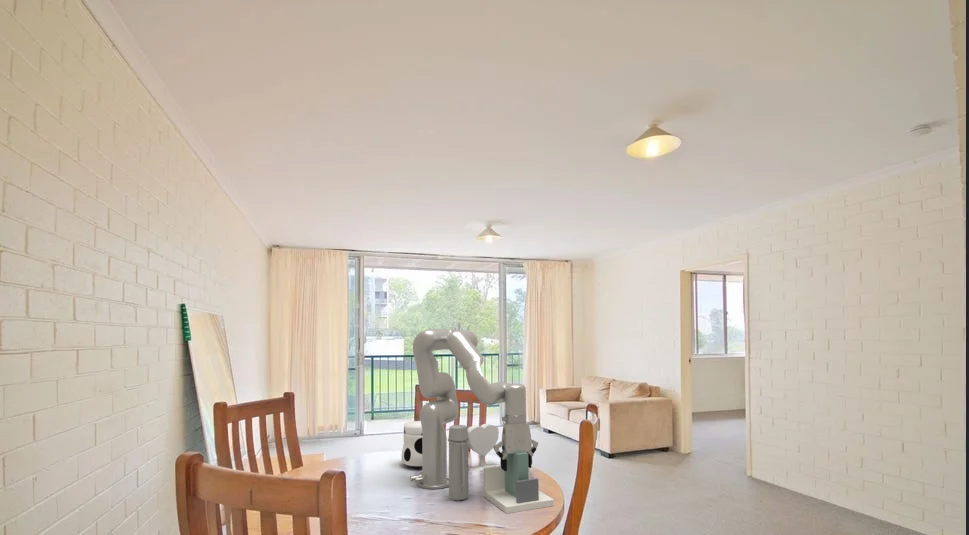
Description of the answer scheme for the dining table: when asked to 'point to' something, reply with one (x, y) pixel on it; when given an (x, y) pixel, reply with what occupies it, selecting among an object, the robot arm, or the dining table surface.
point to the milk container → (412, 444)
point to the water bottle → (458, 462)
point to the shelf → (525, 492)
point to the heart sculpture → (482, 442)
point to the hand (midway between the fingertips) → (516, 468)
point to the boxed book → (516, 471)
